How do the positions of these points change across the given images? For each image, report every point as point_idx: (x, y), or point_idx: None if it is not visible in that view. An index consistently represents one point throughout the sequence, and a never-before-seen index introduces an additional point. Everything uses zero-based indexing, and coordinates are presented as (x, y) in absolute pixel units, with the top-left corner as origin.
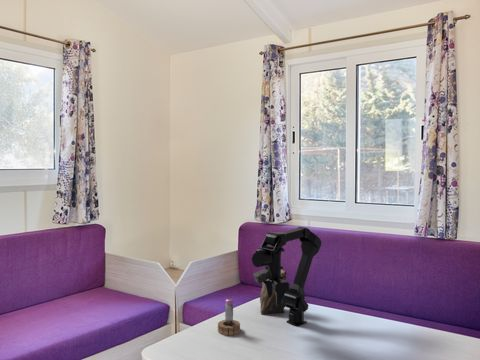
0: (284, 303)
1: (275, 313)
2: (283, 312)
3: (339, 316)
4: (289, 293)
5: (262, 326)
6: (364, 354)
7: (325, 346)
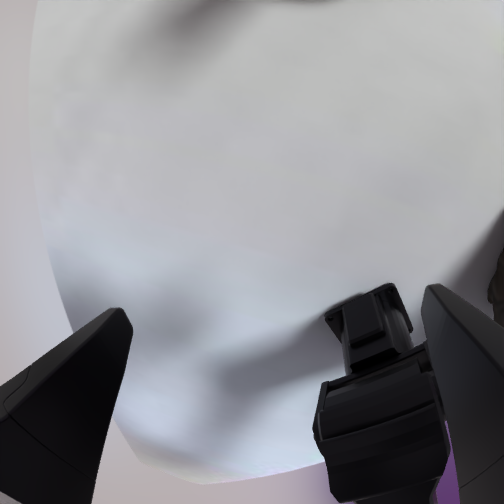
0: None
1: (498, 262)
2: (489, 298)
3: None
4: (398, 445)
5: (378, 133)
6: None
7: None
